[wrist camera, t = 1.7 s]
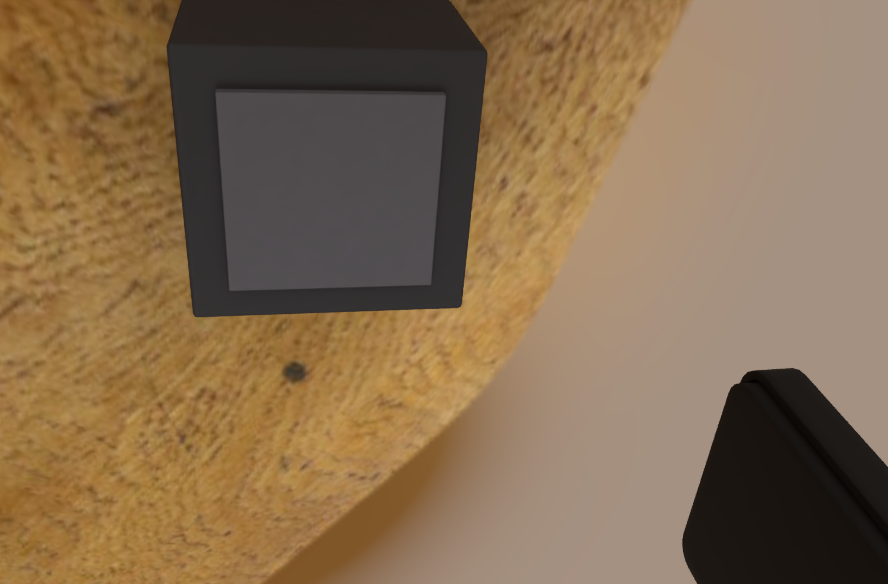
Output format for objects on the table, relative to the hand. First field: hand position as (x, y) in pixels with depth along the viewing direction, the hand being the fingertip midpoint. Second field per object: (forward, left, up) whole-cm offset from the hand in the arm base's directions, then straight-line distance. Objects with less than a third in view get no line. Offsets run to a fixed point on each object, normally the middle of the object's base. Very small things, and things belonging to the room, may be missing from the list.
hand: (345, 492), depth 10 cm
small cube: (0, 0, -12) cm, 12 cm away
